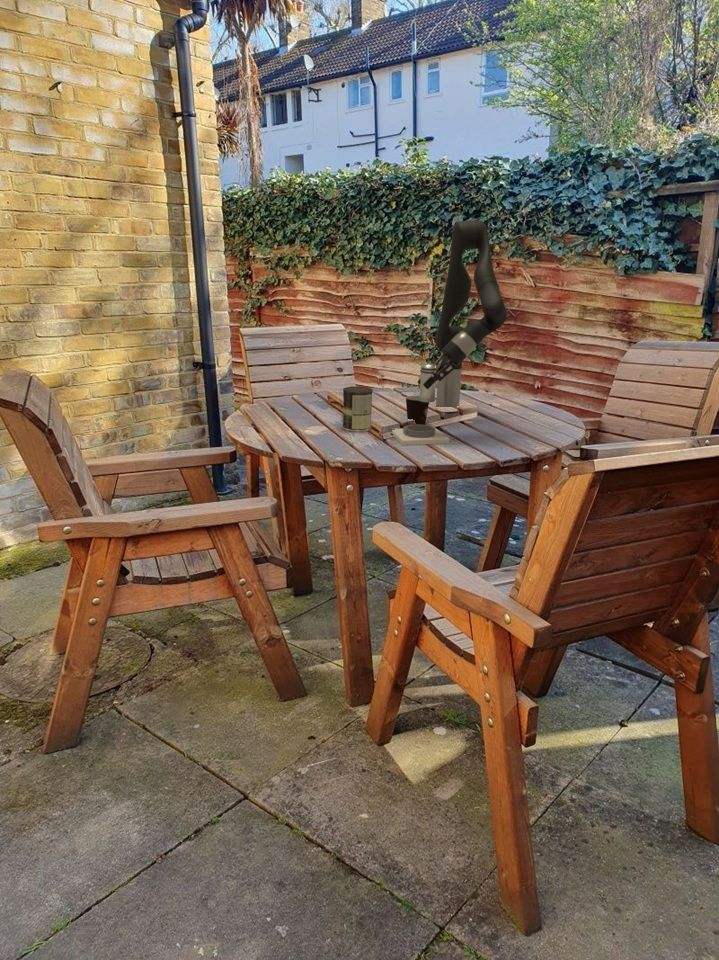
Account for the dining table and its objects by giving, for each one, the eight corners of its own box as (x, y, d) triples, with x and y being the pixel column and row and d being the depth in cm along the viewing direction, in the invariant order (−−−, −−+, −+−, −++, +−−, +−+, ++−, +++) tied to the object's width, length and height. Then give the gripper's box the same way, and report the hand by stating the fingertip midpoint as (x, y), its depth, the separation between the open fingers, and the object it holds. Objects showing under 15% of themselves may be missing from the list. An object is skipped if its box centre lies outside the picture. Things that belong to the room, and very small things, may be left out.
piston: (417, 399, 226) (419, 363, 223) (432, 398, 228) (433, 363, 224) (422, 402, 222) (423, 365, 218) (437, 402, 223) (439, 365, 219)
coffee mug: (416, 429, 240) (417, 401, 237) (399, 424, 247) (400, 397, 244) (439, 424, 248) (440, 397, 244) (422, 420, 254) (423, 393, 251)
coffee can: (337, 430, 237) (338, 390, 232) (349, 423, 246) (349, 385, 241) (365, 433, 233) (366, 392, 229) (375, 426, 242) (376, 387, 238)
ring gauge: (390, 433, 234) (390, 423, 233) (434, 431, 237) (434, 421, 236) (402, 445, 219) (402, 434, 218) (449, 443, 223) (449, 433, 221)
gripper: (444, 337, 227) (408, 374, 228) (460, 342, 213) (421, 381, 214) (458, 353, 229) (422, 389, 231) (474, 359, 216) (436, 397, 217)
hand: (422, 385), depth 223 cm, fingers closed on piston, 5 cm apart
